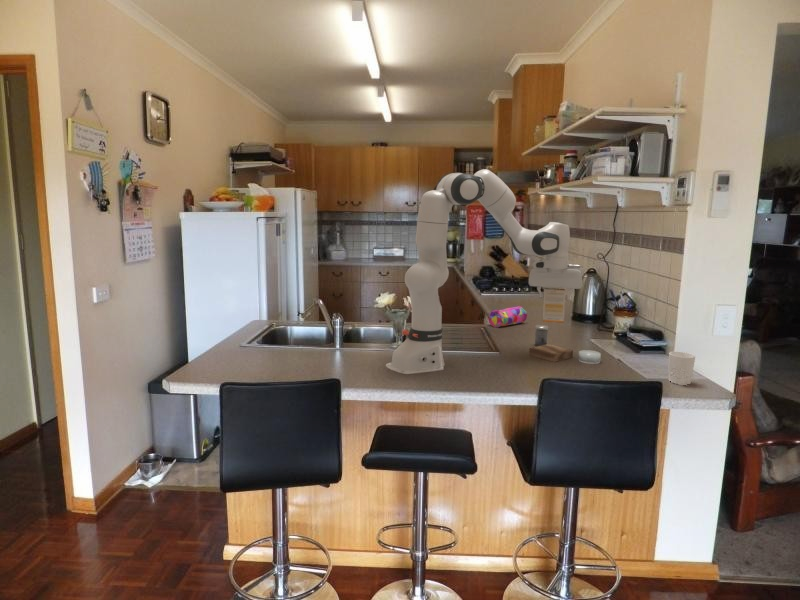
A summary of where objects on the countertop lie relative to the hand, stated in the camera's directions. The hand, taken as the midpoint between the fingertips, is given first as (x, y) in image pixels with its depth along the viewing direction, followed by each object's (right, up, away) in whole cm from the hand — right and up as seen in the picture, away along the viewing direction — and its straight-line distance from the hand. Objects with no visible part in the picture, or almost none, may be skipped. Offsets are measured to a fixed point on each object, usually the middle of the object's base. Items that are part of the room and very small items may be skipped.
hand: (554, 298), depth 206 cm
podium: (0, -23, +4) cm, 24 cm away
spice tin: (0, -20, +20) cm, 29 cm away
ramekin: (+13, -25, -2) cm, 28 cm away
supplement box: (0, -9, +1) cm, 9 cm away
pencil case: (-5, -14, +63) cm, 64 cm away
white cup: (+35, -29, -27) cm, 53 cm away
